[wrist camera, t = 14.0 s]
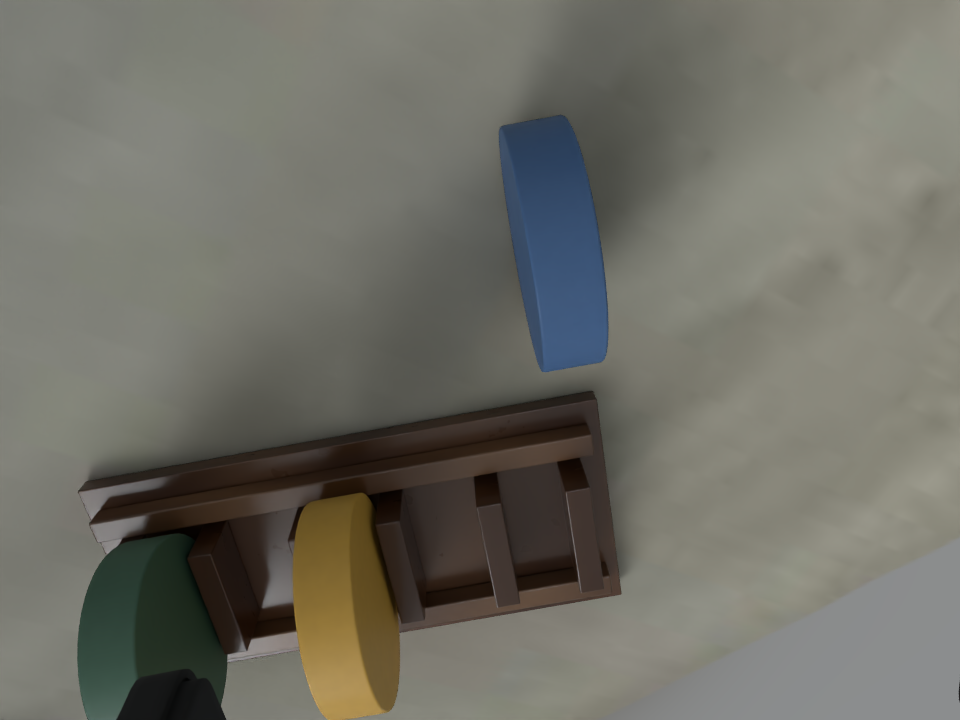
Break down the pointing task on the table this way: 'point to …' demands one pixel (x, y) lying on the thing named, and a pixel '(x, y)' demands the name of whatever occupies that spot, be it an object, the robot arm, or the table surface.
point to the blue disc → (555, 242)
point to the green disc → (144, 624)
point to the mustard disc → (345, 609)
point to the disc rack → (391, 518)
